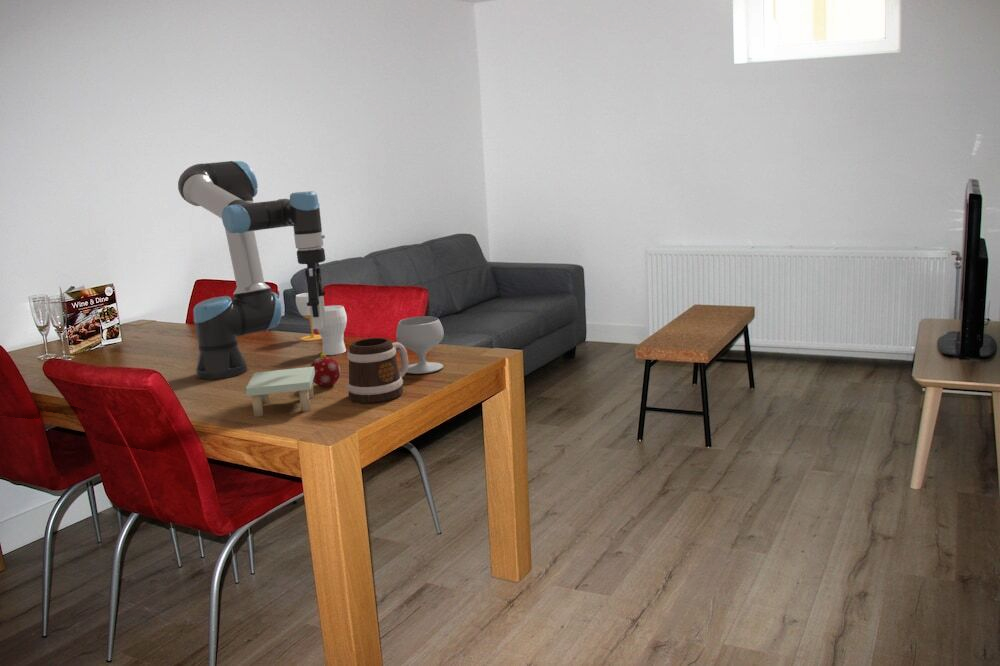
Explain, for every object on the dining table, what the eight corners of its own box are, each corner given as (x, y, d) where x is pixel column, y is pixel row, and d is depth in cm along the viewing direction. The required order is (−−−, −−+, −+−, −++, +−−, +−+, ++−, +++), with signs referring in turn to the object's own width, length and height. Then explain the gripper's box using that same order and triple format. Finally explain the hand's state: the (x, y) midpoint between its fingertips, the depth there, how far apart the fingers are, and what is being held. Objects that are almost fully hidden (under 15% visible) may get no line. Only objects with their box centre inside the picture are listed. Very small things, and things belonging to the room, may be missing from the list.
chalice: (391, 375, 249) (386, 325, 246) (413, 362, 262) (408, 315, 259) (434, 376, 244) (429, 325, 241) (454, 363, 257) (450, 315, 253)
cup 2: (322, 340, 302) (317, 295, 299) (297, 341, 302) (291, 297, 299) (328, 334, 311) (322, 291, 307) (303, 336, 311) (298, 293, 308)
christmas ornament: (315, 382, 247) (311, 349, 245) (344, 380, 247) (340, 347, 245) (308, 391, 239) (303, 356, 237) (338, 389, 239) (334, 354, 236)
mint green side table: (249, 418, 218) (245, 388, 216) (258, 400, 233) (254, 372, 231) (313, 411, 219) (309, 382, 218) (317, 394, 235) (314, 366, 233)
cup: (333, 357, 275) (327, 312, 272) (311, 354, 282) (305, 310, 278) (357, 350, 283) (352, 306, 280) (335, 347, 290) (330, 304, 287)
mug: (373, 408, 219) (367, 351, 216) (336, 399, 229) (330, 345, 226) (428, 387, 234) (423, 334, 230) (391, 380, 243) (386, 329, 240)
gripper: (320, 252, 223) (330, 331, 227) (326, 242, 247) (335, 313, 251) (291, 254, 222) (301, 334, 226) (300, 244, 246) (309, 316, 250)
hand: (319, 323), depth 239 cm, fingers open, 13 cm apart
